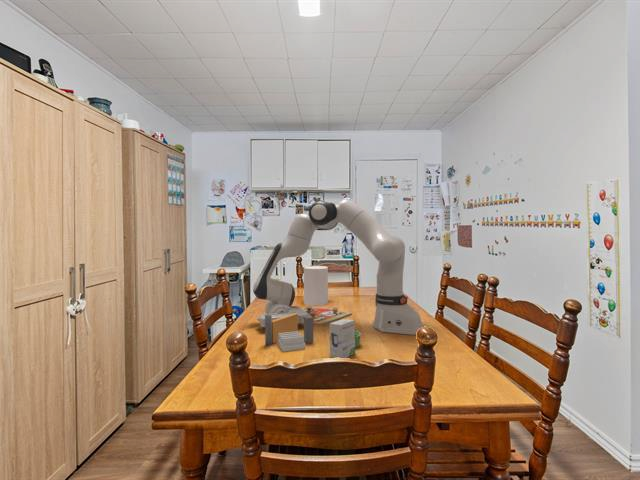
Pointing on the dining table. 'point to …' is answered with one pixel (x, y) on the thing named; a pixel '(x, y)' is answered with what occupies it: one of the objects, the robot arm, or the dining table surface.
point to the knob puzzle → (325, 315)
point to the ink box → (342, 338)
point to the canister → (315, 285)
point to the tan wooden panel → (284, 326)
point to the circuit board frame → (290, 335)
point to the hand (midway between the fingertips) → (288, 323)
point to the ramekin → (357, 338)
